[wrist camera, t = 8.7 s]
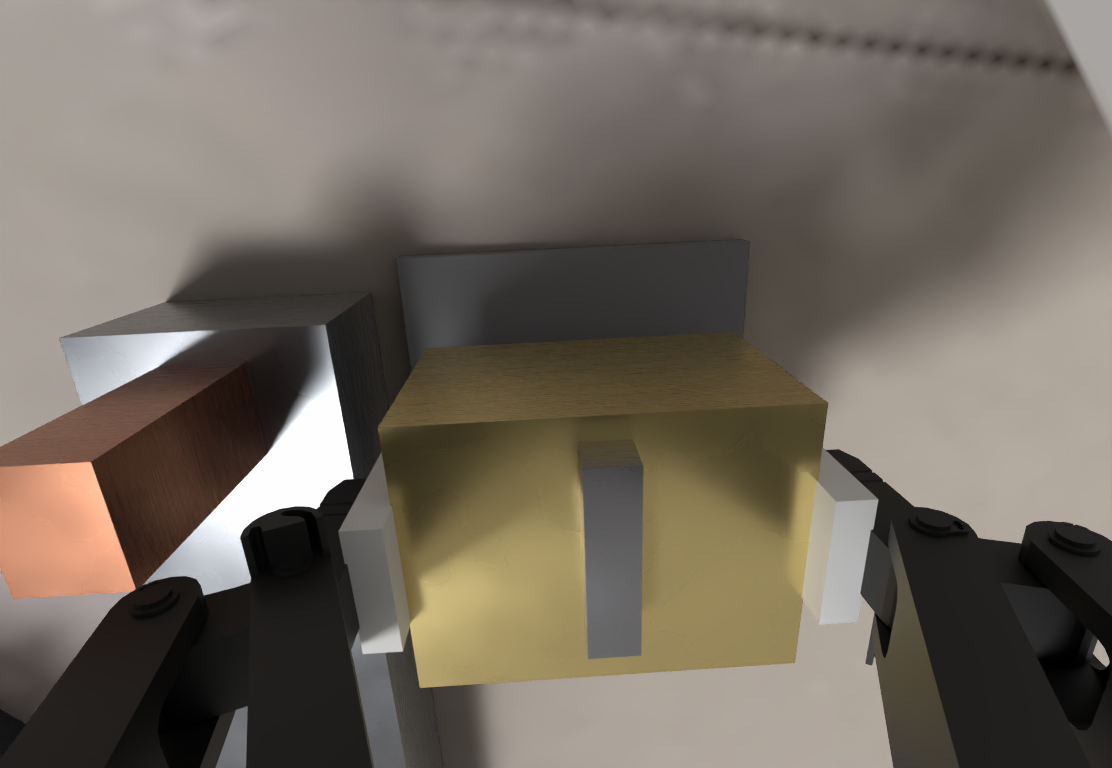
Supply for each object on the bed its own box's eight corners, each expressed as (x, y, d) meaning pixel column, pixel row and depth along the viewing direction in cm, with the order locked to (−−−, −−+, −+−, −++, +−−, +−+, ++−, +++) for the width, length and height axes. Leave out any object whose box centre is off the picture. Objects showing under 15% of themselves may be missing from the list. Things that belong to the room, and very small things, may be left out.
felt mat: (400, 255, 17) (395, 258, 16) (742, 239, 17) (749, 241, 16) (438, 547, 20) (436, 557, 19) (723, 529, 20) (728, 540, 20)
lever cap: (426, 348, 15) (361, 453, 9) (734, 331, 15) (858, 425, 9) (451, 545, 17) (410, 731, 11) (721, 528, 17) (817, 703, 11)
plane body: (164, 302, 17) (-208, 428, 8) (370, 292, 17) (211, 405, 8) (315, 848, 25) (205, 1192, 16) (454, 838, 25) (414, 1174, 17)
